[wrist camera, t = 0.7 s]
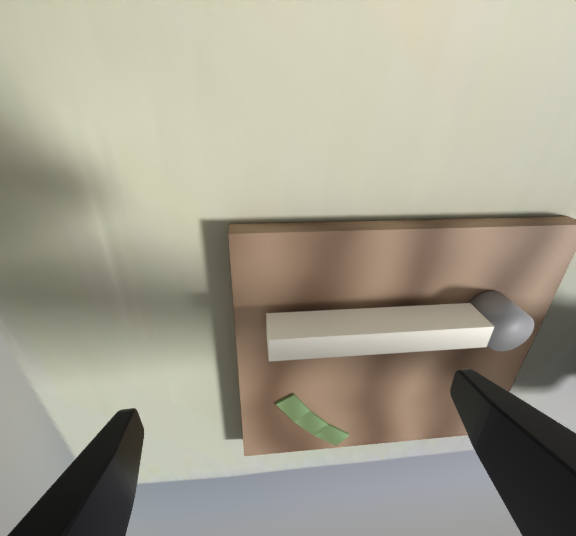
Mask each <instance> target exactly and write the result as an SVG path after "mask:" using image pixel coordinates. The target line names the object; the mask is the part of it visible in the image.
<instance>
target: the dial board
mask: <svg viewBox="0 0 576 536" xmlns="http://www.w3.org/2000/svg"><path fill="white" fill-rule="evenodd" d="M228 238H229V252H230V266H231V279H232V293H233V307H234V321H235V334H236V348H237V362H238V376H239V389H240V403H241V417H242V431H243V444H244V456H251V455H262V454H272V453H283V452H293V451H304V450H314V449H325V448H336V447H346V446H357V445H367V444H378V443H388V442H399V441H410V440H420V439H431V438H441V437H452V436H462V435H468V434H467V432H466V430H465V427H464V425H463V423H462V421H461V418H460V416H459V414H458V411H457V409H456V407H455V405H454V402H453V400H452V398H451V394H450V388H451V384H452V381H453V377H454V374H455V372H456V371H457V370H459V369H467V368H470V369H473V370H475V371H476V372H478V373H479V374H481V375H483V376H484V377H486V378H487V379H489V380H491V381H492V382H494V383H495V384H497V385H499V386H500V387H502V388H504V389H505V390H507V391H508V392H509V391H510V389H511V387H512V385H513V383H514V381H515V379H516V376H517V374H518V372H519V370H520V368H521V366H522V364H523V362H524V359H525V357H526V355H527V353H528V351H529V349H530V347H531V345H532V342H533V340H534V338H535V336H536V334H537V332H538V330H539V328H540V326H541V323H542V321H543V319H544V317H545V315H546V313H547V311H548V309H549V306H550V304H551V302H552V300H553V298H554V296H555V294H556V292H557V289H558V287H559V285H560V283H561V281H562V279H563V277H564V275H565V272H566V270H567V268H568V266H569V264H570V262H571V260H572V258H573V255H574V253H575V251H576V219H573V218H571V217H568V216H558V217H515V218H472V219H428V220H385V221H342V222H298V223H255V224H229V231H228ZM488 291H498V292H501V293H502V294H504V295H505V296H506V297H507V298H509V299H510V300H511V301H512V302H513V303H515V304H516V305H517V306H518V307H520V308H521V309H522V310H523V311H525V312H526V313H527V314H528V315H529V316H531V317H532V319H533V320H534V330H533V332H532V334H531V335H530V337H529V338H528V339H527V340H526V341H525V342H524V343H523V344H521V345H520V346H518V347H516V348H514V349H512V350H508V351H495V350H492V349H491V348H490V347H489V346H488V345H487V347H481V348H466V349H451V350H436V351H421V352H406V353H390V354H375V355H360V356H345V357H330V358H315V359H299V360H284V361H269V357H268V345H267V332H266V313H282V312H302V311H321V310H341V309H361V308H380V307H400V306H419V305H439V304H459V303H470V301H471V300H472V299H474V298H475V297H476V296H478V295H480V294H482V293H484V292H488Z"/></svg>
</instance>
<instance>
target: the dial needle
mask: <svg viewBox="0 0 576 536" xmlns="http://www.w3.org/2000/svg"><path fill="white" fill-rule="evenodd" d="M533 330H534V320H533V319H532V317H531V316H529V315H528V314H527V313H526V312H525V311H523V310H522V309H521V308H520V307H518V306H517V305H516V304H515V303H513V302H512V301H511V300H510V299H509V298H507V297H506V296H505V295H504V294H502V293H501V292H498V291H488V292H484V293H482V294H480V295H478V296H476V297H475V298H474V299H472V300H471V301H470V303H459V304H439V305H419V306H400V307H380V308H361V309H341V310H321V311H302V312H282V313H266V332H267V345H268V357H269V361H284V360H299V359H315V358H330V357H345V356H360V355H375V354H390V353H406V352H421V351H436V350H451V349H466V348H481V347H487V345H488V346H489V347H490V348H491V349H492V350H495V351H508V350H512V349H514V348H516V347H518V346H520V345H521V344H523V343H524V342H525V341H526V340H527V339H528V338H529V337H530V335H531V334H532V332H533Z"/></svg>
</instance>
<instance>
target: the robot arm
mask: <svg viewBox="0 0 576 536" xmlns="http://www.w3.org/2000/svg"><path fill="white" fill-rule="evenodd" d="M450 394H451V398H452V400H453V402H454V405H455V407H456V409H457V411H458V414H459V416H460V418H461V421H462V423H463V425H464V427H465V430H466V432H467V434H468V437H469V439H470V441H471V443H472V445H473V447H474V449H475V451H476V453H477V455H478V457H479V459H480V461H481V462H482V464H483V466H484V468H485V469H486V471H487V473H488V475H489V477H490V478H491V480H492V482H493V484H494V486H495V487H496V489H497V491H498V493H499V495H500V496H501V498H502V500H503V502H504V503H505V505H506V507H507V509H508V511H509V512H510V514H511V516H512V518H513V520H514V521H515V523H516V525H517V527H518V528H519V530H520V532H521V534H522V536H576V433H574V432H573V431H571V430H569V429H568V428H566V427H565V426H563V425H561V424H560V423H558V422H556V421H555V420H553V419H552V418H550V417H548V416H547V415H545V414H544V413H542V412H540V411H539V410H537V409H536V408H534V407H532V406H531V405H529V404H528V403H526V402H524V401H523V400H521V399H520V398H518V397H516V396H515V395H513V394H512V393H510V392H508V391H507V390H505V389H504V388H502V387H500V386H499V385H497V384H495V383H494V382H492V381H491V380H489V379H487V378H486V377H484V376H483V375H481V374H479V373H478V372H476V371H475V370H473V369H470V368H467V369H459V370H457V371H456V372H455V374H454V377H453V381H452V384H451V388H450ZM143 439H144V428H143V425H142V422H141V419H140V417H139V414H138V412H137V410H136V409H135V408H131V409H123V410H120V411H118V412H117V413H116V414H115V415H114V416H113V417H112V419H111V420H110V421H109V422H108V423H107V424H106V425H105V426H104V428H103V429H102V430H101V431H100V432H99V433H98V434H97V435H96V437H95V438H94V439H93V440H92V441H91V442H90V443H89V444H88V446H87V447H86V448H85V449H84V450H83V451H82V452H81V453H80V455H79V456H78V457H77V458H76V459H75V460H74V461H73V462H72V464H71V465H70V466H69V467H68V468H67V469H66V470H65V471H64V473H63V474H62V475H61V476H60V477H59V478H58V479H57V481H56V482H55V483H54V484H53V485H52V486H51V487H50V488H49V490H48V491H47V492H46V493H45V494H44V495H43V496H42V497H41V498H40V500H39V501H38V502H37V503H36V504H35V505H34V506H33V507H32V509H31V510H30V511H29V512H28V513H27V514H26V515H25V516H24V518H23V519H22V520H21V521H20V522H19V523H18V524H17V526H16V527H15V528H14V529H13V530H12V531H11V532H10V533H9V534H8V536H125V535H126V531H127V527H128V523H129V519H130V515H131V511H132V507H133V502H134V498H135V493H136V487H137V480H138V473H139V466H140V460H141V453H142V446H143Z"/></svg>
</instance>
